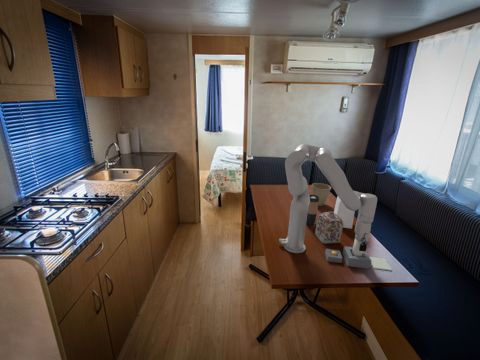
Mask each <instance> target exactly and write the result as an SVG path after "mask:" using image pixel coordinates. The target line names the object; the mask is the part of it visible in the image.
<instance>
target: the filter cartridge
mask: <svg viewBox="0 0 480 360" xmlns="http://www.w3.org/2000/svg"><path fill="white" fill-rule="evenodd" d="M354 239H355V241H354V242H353V245H352V247H353V250H352V256H358V257H362V254H363V251H359V248H360V244H361V239H360V240H359V239H358V237H357V235H354ZM362 239H365V238H362ZM363 242H365V240H363Z"/></svg>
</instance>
